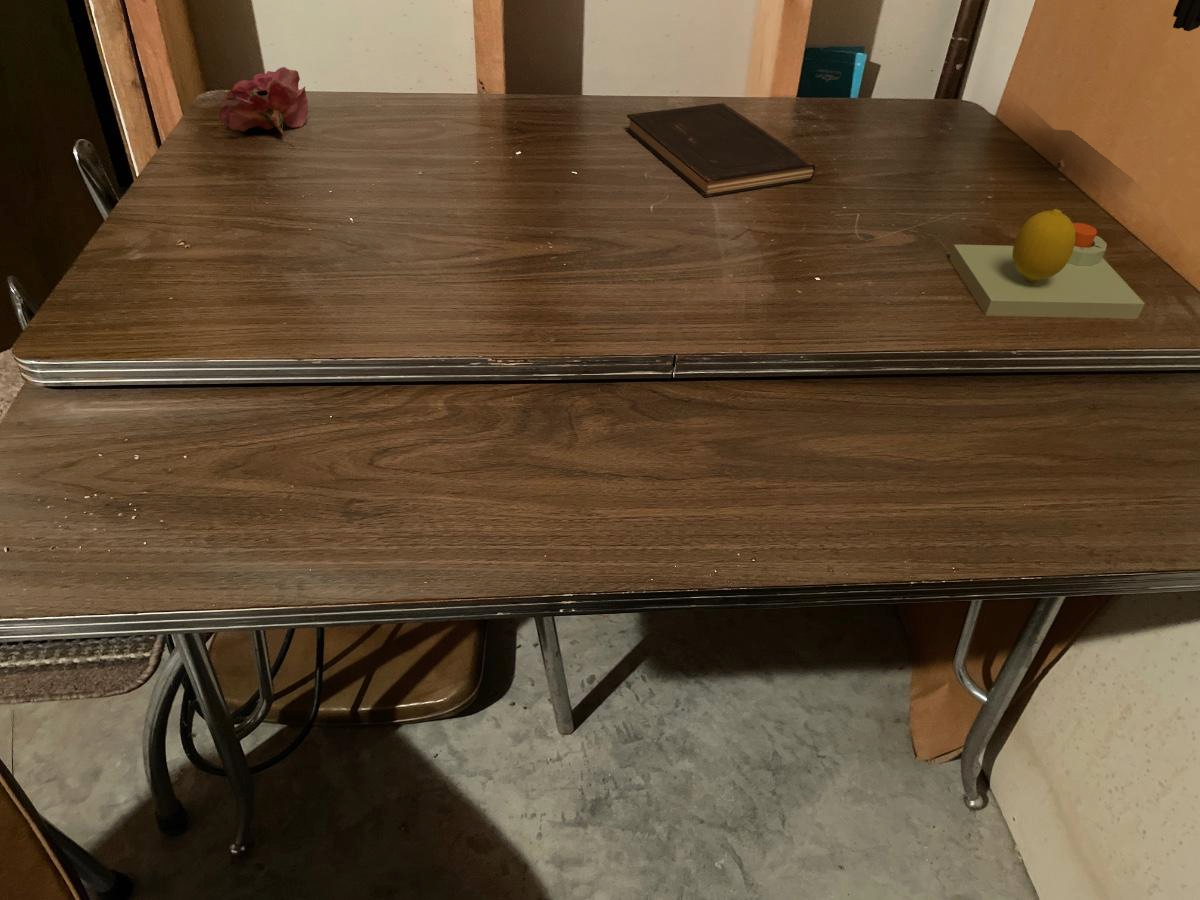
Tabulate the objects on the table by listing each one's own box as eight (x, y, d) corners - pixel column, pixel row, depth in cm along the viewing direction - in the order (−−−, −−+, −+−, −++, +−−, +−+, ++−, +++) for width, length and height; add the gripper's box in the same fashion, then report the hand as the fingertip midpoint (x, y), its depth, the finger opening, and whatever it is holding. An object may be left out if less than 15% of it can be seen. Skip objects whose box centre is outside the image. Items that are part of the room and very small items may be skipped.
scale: (1082, 257, 104) (1094, 228, 102) (1137, 319, 94) (1151, 289, 92) (944, 253, 104) (953, 225, 102) (985, 316, 94) (996, 286, 91)
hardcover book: (704, 197, 113) (707, 180, 111) (626, 130, 128) (626, 114, 127) (813, 180, 118) (816, 163, 116) (724, 118, 134) (726, 102, 132)
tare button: (1084, 237, 101) (1090, 222, 100) (1095, 249, 99) (1101, 234, 98) (1059, 236, 101) (1065, 222, 100) (1070, 248, 99) (1076, 234, 98)
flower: (235, 152, 125) (237, 77, 125) (309, 159, 127) (312, 85, 126) (209, 131, 114) (211, 48, 113) (291, 138, 115) (294, 57, 115)
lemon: (1066, 295, 94) (1096, 223, 88) (1012, 293, 94) (1039, 221, 88) (1046, 269, 98) (1074, 198, 93) (995, 267, 98) (1020, 196, 93)
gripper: (1176, -195, 85) (1099, 16, 97) (1357, -175, 77) (1249, 52, 89) (1207, -197, 89) (1130, 5, 101) (1382, -179, 81) (1275, 39, 93)
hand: (1186, 27), depth 95 cm, fingers closed
